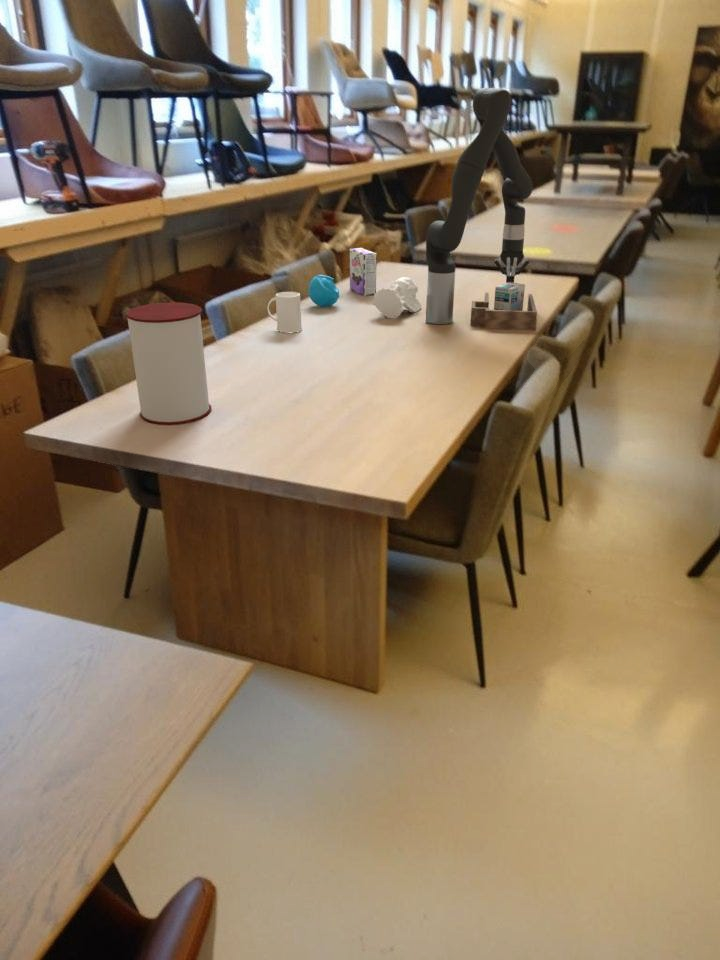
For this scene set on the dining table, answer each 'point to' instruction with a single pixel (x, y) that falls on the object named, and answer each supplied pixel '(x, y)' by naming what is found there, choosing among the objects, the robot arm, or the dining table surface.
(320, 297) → the sphere
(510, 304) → the light bulb box
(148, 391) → the container
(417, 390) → the dining table surface
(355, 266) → the candy box
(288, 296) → the mug
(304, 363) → the dining table surface
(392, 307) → the cherub figurine
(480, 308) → the wooden tray
